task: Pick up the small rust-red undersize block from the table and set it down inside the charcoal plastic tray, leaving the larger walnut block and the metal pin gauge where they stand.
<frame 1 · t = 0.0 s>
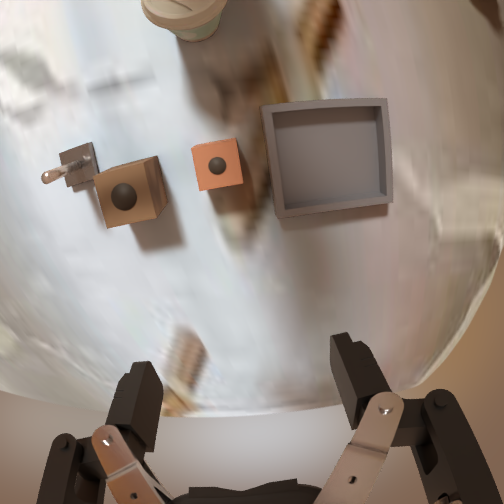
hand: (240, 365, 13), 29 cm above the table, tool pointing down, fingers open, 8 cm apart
coffee cup: (196, 23, 29), on the table
undersize block: (219, 160, 37), on the table
pin gauge stand: (80, 164, 36), on the table
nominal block: (139, 184, 38), on the table
tray: (327, 152, 37), on the table
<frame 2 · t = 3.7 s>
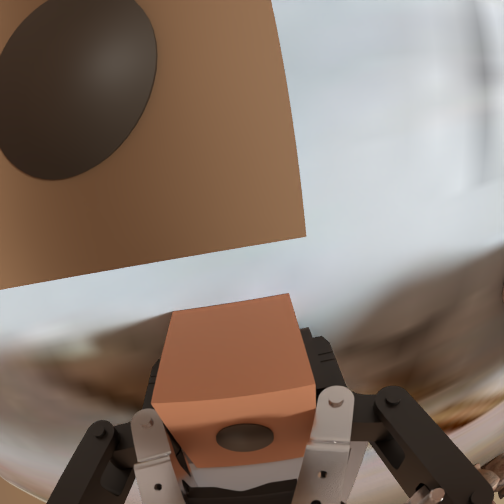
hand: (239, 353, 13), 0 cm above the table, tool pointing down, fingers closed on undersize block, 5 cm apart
undersize block: (240, 346, 14), on the table, touching gripper
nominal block: (157, 98, 9), on the table
pottery: (482, 464, 35), on the table
tray: (259, 467, 20), on the table
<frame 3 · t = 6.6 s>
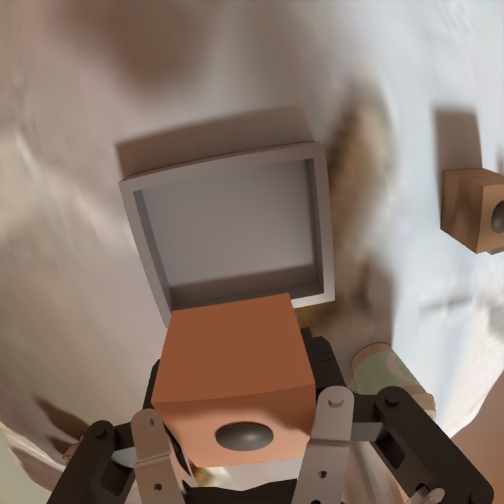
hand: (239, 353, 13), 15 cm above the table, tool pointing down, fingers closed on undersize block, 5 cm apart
coffee cup: (371, 358, 35), on the table
undersize block: (240, 345, 14), point 15 cm above the table, touching gripper
pin gauge stand: (500, 230, 29), on the table
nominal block: (462, 197, 27), on the table
tray: (234, 232, 27), on the table
when the fingers open (3 cm above the table, at t = 9.7 s): undersize block drops 2 cm, resting on tray.
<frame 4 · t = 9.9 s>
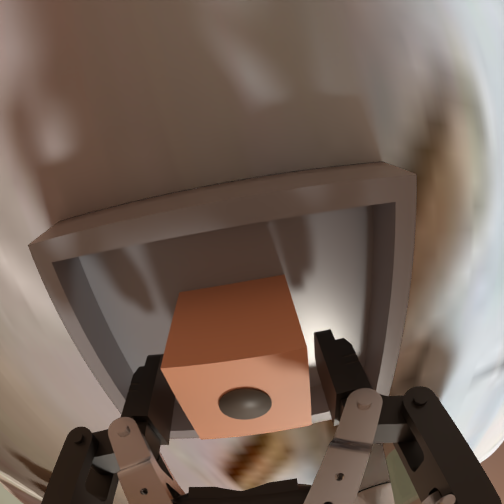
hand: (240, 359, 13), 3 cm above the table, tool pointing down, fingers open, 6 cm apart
coffee cup: (407, 432, 24), on the table
undersize block: (241, 325, 15), point 1 cm above the table, touching tray
tray: (238, 316, 16), on the table
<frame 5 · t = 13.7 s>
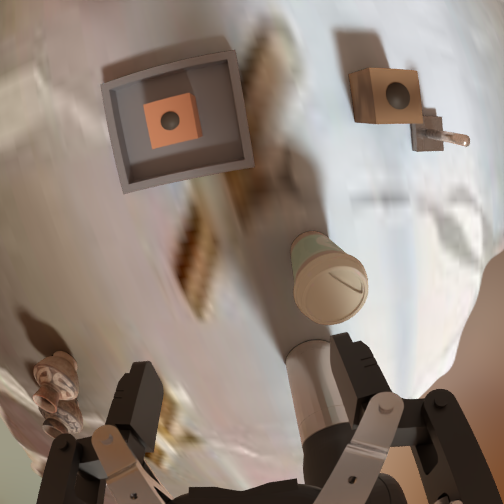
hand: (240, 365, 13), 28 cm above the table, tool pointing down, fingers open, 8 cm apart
coffee cup: (310, 249, 42), on the table
undersize block: (178, 120, 33), point 1 cm above the table, touching tray
pin gauge stand: (425, 132, 35), on the table
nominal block: (373, 97, 33), on the table
pottery: (67, 381, 52), on the table
tray: (178, 120, 33), on the table
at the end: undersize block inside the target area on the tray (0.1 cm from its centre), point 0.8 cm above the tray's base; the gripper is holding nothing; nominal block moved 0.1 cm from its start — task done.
